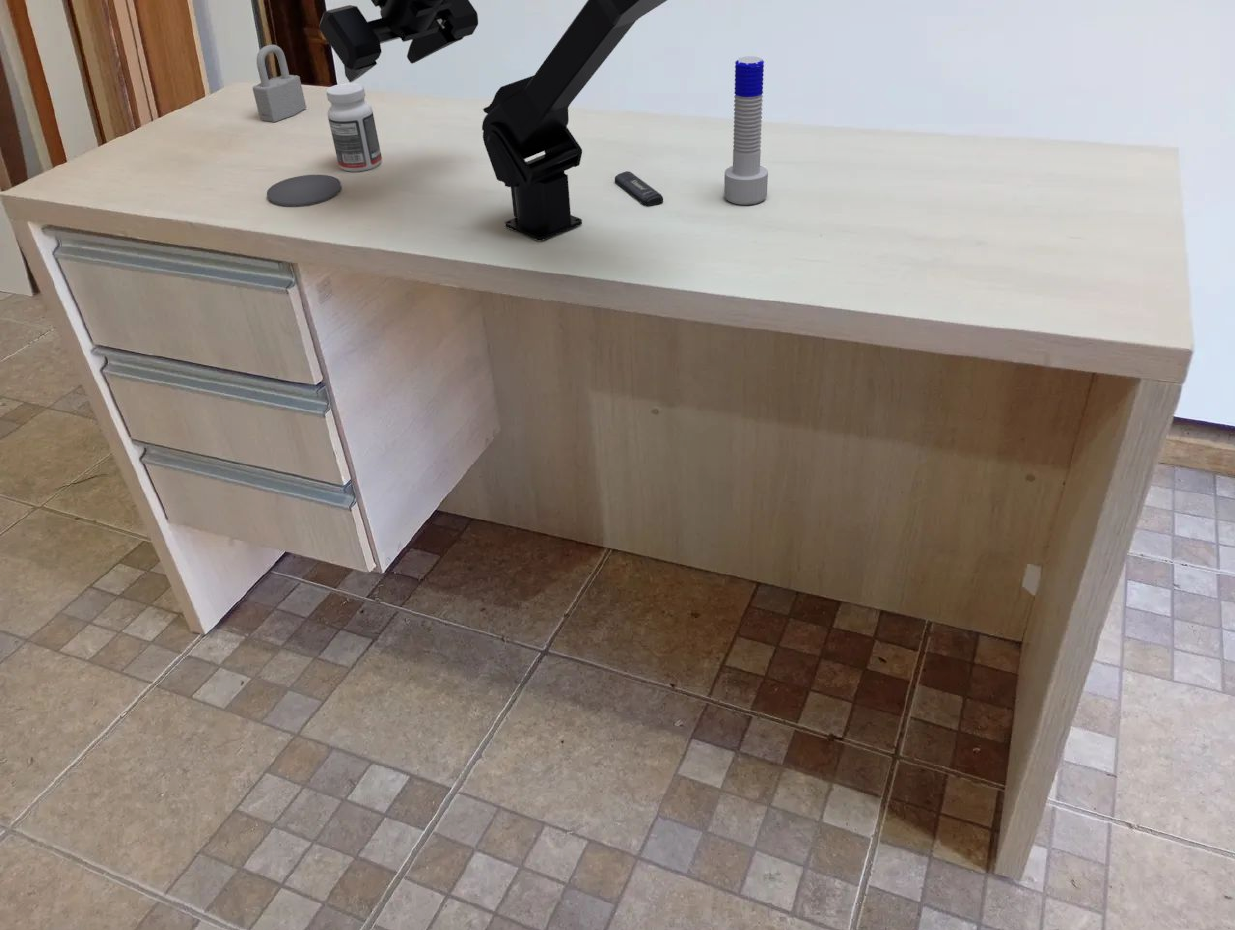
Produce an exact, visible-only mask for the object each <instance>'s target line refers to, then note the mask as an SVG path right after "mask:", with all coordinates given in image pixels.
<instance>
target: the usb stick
mask: <svg viewBox="0 0 1235 930" xmlns="http://www.w3.org/2000/svg"><path fill="white" fill-rule="evenodd" d="M614 183H615V184H617V186H619V187H620V188H622V190H624V191H625V192H627V193H628V194H629V195H630V196H631V197H633V198H634V199H636V200H637V201H638V202H639V203H641V204H642V205H643V206H645V207H649V208H650V207H655V206H660V205H663V202H664V196H663V195H662V194H661V193H660V192H658V191H657V190H655V189H654V188H653V187H652V186H650V185H649V184H648V183H646V182H645V181H644V180H642V179H640V177H638V176H637V175H636V174H634V173H633V172H632V171H622V172H621V173H618V174H617V175H615V176H614Z"/></svg>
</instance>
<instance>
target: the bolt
mask: <svg viewBox="0 0 1235 930" xmlns="http://www.w3.org/2000/svg"><path fill="white" fill-rule="evenodd" d="M734 62H735V63H734V64H735V66H734V68H735V69H734V101H733V102H734V104H733V107H734V109H733V111H734V113H733V115H734V116H733V137H732V138H733V141H732V142H733V146H732V147H733V149H732V165H731V166H729V167H726V169H725V170H724V177H723V178H724V185H723V187H724V189H723V191H724V192H723V195H724V198H725V199H726V201H728V202H730V203H732V204H735V205H741V206H742V205H744V206H749V205H750V206H751V205H757V204H759V203H761V202H764V200H765V199H766V198H767V196H768V185H769V184H768V182H769V181H768V178H769V170H768V169H767V168H766V167H764V166H762V165H761V156H762V155H761V153H762V150H761V147H762V145H761V144H762V141H761V140H762V122H763V121H762V119H763V116H762V115H763V112H762V111H763V101H764V100H763V97H764V96H763V93H764V90H763V89H764V71H765V70H764V69H765V68H764V67H765V61H764V60H763V58H761V57H758V56H743V57H739V58H738V59H737V60H736V61H734Z"/></svg>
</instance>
